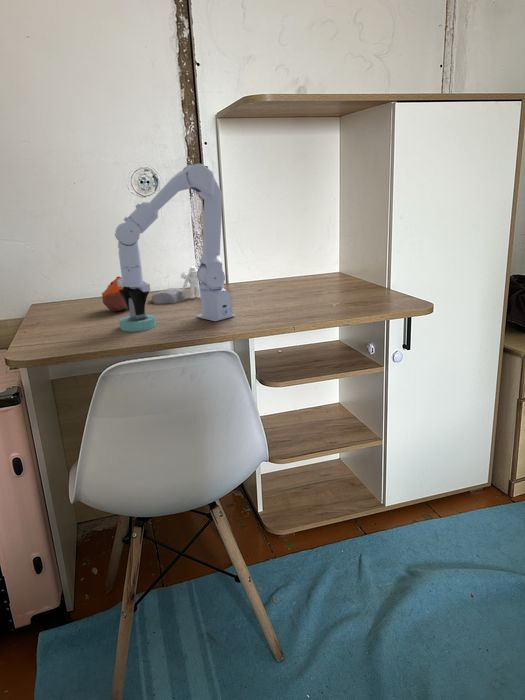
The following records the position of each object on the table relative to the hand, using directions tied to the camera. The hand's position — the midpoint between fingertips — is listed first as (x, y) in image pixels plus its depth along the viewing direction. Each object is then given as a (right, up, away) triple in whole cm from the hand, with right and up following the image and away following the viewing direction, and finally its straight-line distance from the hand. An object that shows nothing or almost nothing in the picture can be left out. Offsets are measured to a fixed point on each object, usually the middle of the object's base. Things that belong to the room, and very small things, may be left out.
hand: (136, 313), depth 156 cm
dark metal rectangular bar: (0, -3, +1) cm, 3 cm away
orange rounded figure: (-11, +2, +23) cm, 26 cm away
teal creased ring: (0, -4, +1) cm, 4 cm away
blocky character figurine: (+12, +8, +37) cm, 40 cm away
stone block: (+3, +7, +36) cm, 37 cm away
